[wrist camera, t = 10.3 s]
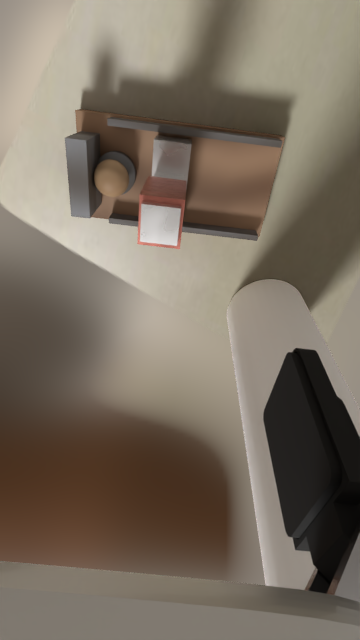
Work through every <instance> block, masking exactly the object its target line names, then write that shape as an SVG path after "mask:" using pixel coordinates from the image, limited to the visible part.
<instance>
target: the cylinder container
mask: <svg viewBox="0 0 360 640" xmlns="http://www.w3.org/2000/svg"><path fill="white" fill-rule="evenodd" d="M227 321H228V328H229V335H230V342H231V349H232V356H233V362H234V370H235V376H236V382H237V390H238V396H239V404H240V411H241V418H242V424H243V431H244V437H245V445H246V452H247V459H248V466H249V472H250V479H251V487H252V493H253V500H254V507H255V514H256V521H257V528H258V535H259V541H260V548H261V555H262V562H263V569H264V576H265V582H266V586H274V587H283V588H292V589H301V590H305V588H306V586H307V584H308V581H309V579H310V577H311V575H312V573H313V571H314V569H315V566H314V565H313V562H312V558H311V554H310V551H298V550H295V547H294V542H293V537H288V535H287V534H286V531H285V527H284V522H283V517H282V512H281V507H280V502H279V496H278V491H277V486H276V481H275V476H274V471H273V466H272V461H271V456H270V451H269V446H268V441H267V436H266V431H265V426H264V421H263V413H264V409H265V406H266V404H267V401H268V399H269V396H270V394H271V391H272V389H273V386H274V384H275V381H276V379H277V376H278V374H279V371H280V369H281V366H282V364H283V361H284V359H285V356H286V354H287V353H288V352H293V350H294V349H295V348H301V349H310V350H315V351H317V353H318V355H319V357H320V359H321V362H322V364H323V366H324V368H325V370H326V373H327V375H328V377H329V379H330V382H331V384H332V386H333V388H334V391H335V393H336V395H337V397H339V398H340V399H341V400H342V401H343V403H344V404H345V406H346V409H347V411H348V413H349V415H350V417H351V419H352V422H353V424H354V426H355V428H356V430H357V432H358V435H359V437H360V408H359V407H358V405H357V403H356V401H355V399H354V397H353V395H352V393H351V391H350V389H349V387H348V385H347V383H346V381H345V379H344V377H343V376H342V373H341V372H340V370H339V368H338V366H337V364H336V362H335V360H334V358H333V356H332V354H331V352H330V350H329V348H328V346H327V344H326V342H325V340H324V338H323V336H322V334H321V333H320V331H319V329H318V327H317V325H316V323H315V321H314V319H313V317H312V315H311V313H310V311H309V309H308V307H307V305H306V303H305V301H304V299H303V298H302V296H301V294H300V292H299V291H298V290H297V289H296V288H295V287H294V286H292V285H291V284H289V283H287V282H285V281H281V280H276V279H265V280H259V281H255V282H252V283H250V284H248V285H246V286H244V287H243V288H242V289H240V290H239V291H238V292H237V293H236V294H235V295H234V296H233V298H232V299H231V301H230V303H229V305H228V308H227Z"/></svg>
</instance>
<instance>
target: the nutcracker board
mask: <svg viewBox="0 0 360 640" xmlns="http://www.w3.org/2000/svg"><path fill="white" fill-rule="evenodd" d="M75 112H76V128H77V133H76V134H73V135H71V136H68V137H66V138H65V144H66V157H67V169H68V181H69V193H70V205H71V216H74V217H83V218H91V217H95V218H104V219H109V223H112V224H120V225H129V226H137V227H138V221H139V194H140V192H141V190H142V188H143V186H144V184H145V182H146V180H147V178H148V176H152V162H153V144H154V138H155V137H156V136H157V135H163V136H170V137H178V138H186V139H192V145H191V154H190V162H189V171H188V179H187V188H186V198H185V207H184V216H183V224H182V232H188V233H196V234H205V235H213V236H222V237H230V238H238V239H247V240H255V241H257V239H258V237H259V236H260V232H261V228H262V224H263V220H264V217H265V213H266V209H267V205H268V201H269V197H270V194H271V190H272V186H273V182H274V178H275V174H276V171H277V167H278V163H279V159H280V155H281V151H282V148H283V144H284V140H285V137H283V136H281V135H274V134H266V133H259V132H251V131H243V130H236V129H228V128H221V127H213V126H205V125H198V124H190V123H182V122H175V121H167V120H160V119H152V118H144V117H137V116H129V115H121V114H114V113H106V112H98V111H91V110H83V109H79V110H75Z"/></svg>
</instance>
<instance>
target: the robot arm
mask: <svg viewBox="0 0 360 640" xmlns="http://www.w3.org/2000/svg"><path fill="white" fill-rule="evenodd" d="M263 421H264V426H265V431H266V436H267V441H268V446H269V451H270V456H271V461H272V466H273V471H274V476H275V481H276V486H277V491H278V496H279V502H280V507H281V512H282V517H283V522H284V527H285V531H286V534H287V535H288V537H293V542H294V547H295V550H298V551H310V554H311V558H312V562H313V565H314V566H315V569H314V571H313V573H312V575H311V577H310V579H309V581H308V584H307V586H306V588H305V590H301V589H292V588H283V587H274V586H265V585H256V584H247V583H237V582H228V581H218V580H207V579H195V578H185V577H173V576H163V575H152V574H141V573H130V572H119V571H108V570H96V569H84V568H73V567H62V566H50V565H38V564H27V563H15V562H4V561H0V640H360V437H359V435H358V432H357V430H356V428H355V426H354V424H353V422H352V419H351V417H350V415H349V413H348V411H347V409H346V406H345V404H344V403H343V401H342V400H341V399H340V398H339V397H337V395H336V393H335V391H334V388H333V386H332V384H331V382H330V379H329V377H328V375H327V373H326V370H325V368H324V366H323V364H322V362H321V359H320V357H319V355H318V353H317V351H315V350H310V349H301V348H295V349H294V350H293V352H288V353H287V354H286V356H285V359H284V361H283V364H282V366H281V369H280V371H279V374H278V376H277V379H276V381H275V384H274V386H273V389H272V391H271V394H270V396H269V399H268V401H267V404H266V406H265V409H264V413H263Z"/></svg>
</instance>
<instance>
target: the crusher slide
mask: <svg viewBox="0 0 360 640" xmlns="http://www.w3.org/2000/svg"><path fill="white" fill-rule="evenodd" d="M191 145H192V139H186V138H178V137H170V136H163V135H157V136H156V137H155V138H154V144H153V162H152V176H148V178H147V180H146V182H145V184H144V186H143V188H142V190H141V192H140V194H139V221H138V244H141V245H150V246H159V247H167V248H176V249H180V242H181V233H182V224H183V216H184V207H185V198H186V188H187V179H188V171H189V162H190V154H191Z"/></svg>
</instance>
